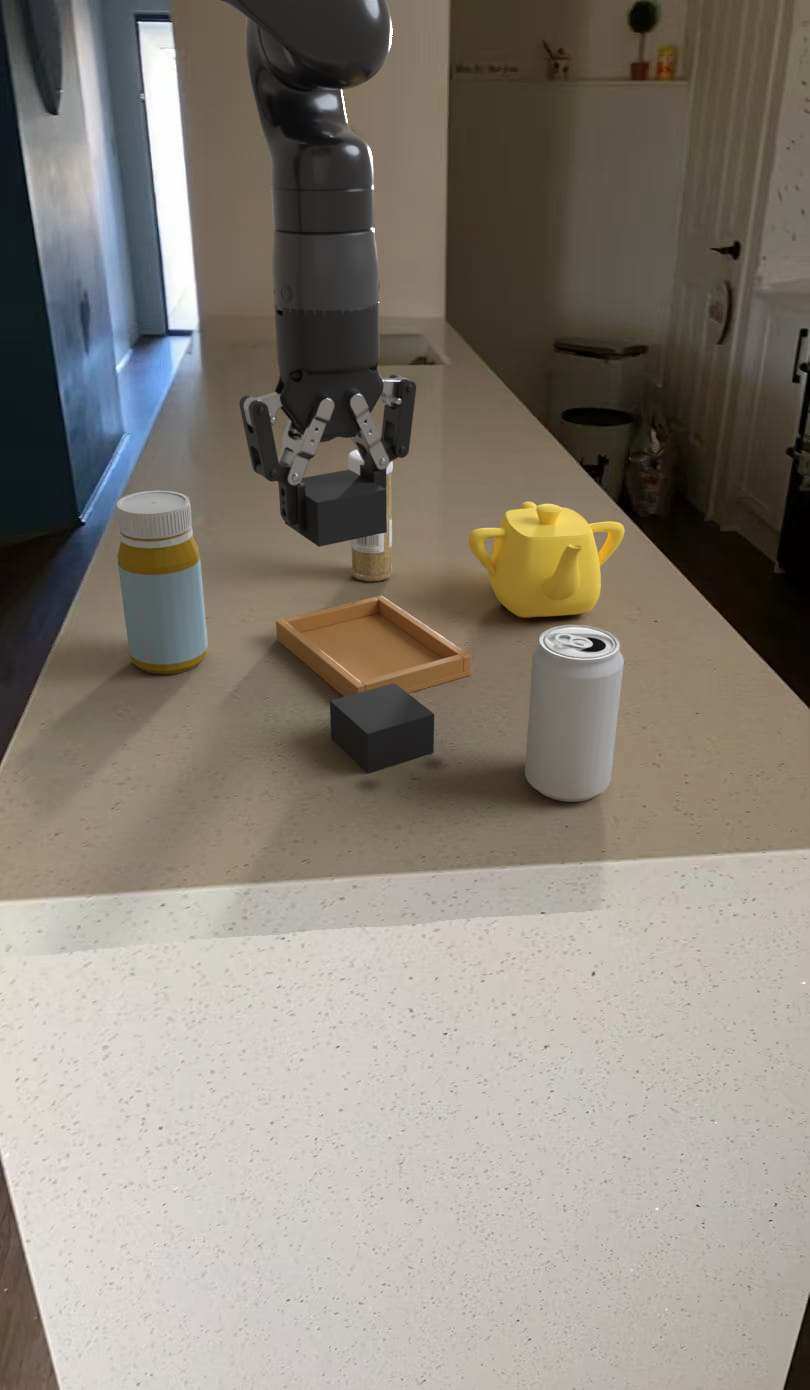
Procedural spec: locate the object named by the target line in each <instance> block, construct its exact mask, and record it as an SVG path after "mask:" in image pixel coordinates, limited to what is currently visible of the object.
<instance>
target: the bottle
mask: <svg viewBox="0 0 810 1390" xmlns="http://www.w3.org/2000/svg"><path fill="white" fill-rule="evenodd" d="M115 510H116V518H117V526H118V529H119V532H118V533H119V540H120V543H119V547H118V551H117V554H116V555H117V566H118V574H119V582H120V589H121V590H120V591H121V597H122V605H123V606H122V607H123V612H124V613H123V614H124V621H125V622H124V623H125V629H126V636H127V646H128V653H129V657H130V661H131V662H132V663H133V664H134V665H135V666H136V667H138V668H139V669H140V670H141V671H144V672H146V673H149V674H154V675H174V674H175V675H176V674H181V673H184V672H187V671H190V670H192V669H195V668H196V667H198V666H199V665H200V664H201V663H202V662H203V661H204V660H205V658H206V657H207V655H208V652H209V648H208V642H209V641H208V631H207V621H206V620H207V619H206V610H205V609H206V608H205V599H204V598H205V597H204V586H203V576H202V563H201V562H202V561H201V556H200V555H201V554H200V550H199V546H198V544H197V543H196V541H195V538H194V536H193V525H192V524H193V521H192V520H193V519H192V508H191V501H190V498H189V496H187V495H186V494H183V493H181V492H177V491H171V490H146V491H140V492H134V493H131V494H128V495H125V496H123V497H121V498H119V500H117V502H116V505H115Z"/></svg>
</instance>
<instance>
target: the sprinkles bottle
mask: <svg viewBox="0 0 810 1390" xmlns="http://www.w3.org/2000/svg"><path fill="white" fill-rule="evenodd" d="M393 461H394V460H393ZM393 461H391V462H390V463H389V465H388V467H387V469H386V488H387V492H386V493H387V500H386V505H387V532H386V533H382V534H377V535H372V536H367V537H363V538H358V539H353V540H350V546H351V569H350V573H351V576H352V577H354V578H355V579H357V580H360V581H363V582H381V581H383V580H384V581H385V580H387V579H388V578H390V577H391V576H392V575H393V571H394V570H393V567H392V562H393V561H392V546H393V521H392V481H391V480H392V472H393V471H394V470H393V468H394V467H393V464H394V462H393ZM362 464H364V461H363V460H362V458H361V456H360V454H359V452H358V450H357V449H354V450H352V451H350V452H349V454H348V455H347V470H351V471H353V472H355V473H357V474H359V475H360V465H362Z"/></svg>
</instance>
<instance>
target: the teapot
mask: <svg viewBox="0 0 810 1390" xmlns="http://www.w3.org/2000/svg"><path fill="white" fill-rule="evenodd" d="M625 531H626V530H625V527H624V525H623V524H622V523H620V522H618V521H600V522H594V523H589V522H588V521H587V520H586V518H585V517H583V516H582V515H581V514H580V513H578V512H577V511H575V510H573V509H571V508H568V507H561V506H560V505H558V504H553V503H541V504H539V505H537V504H536V503H534V502H533V501H524V502H523V503H521V505H520V508H516V509H509V510H507V511H506V512H505V513H504V515H503V517H502V519H501V522H500V524H499V527H481V528H476V529H473V530H472V531H470V533H469V534H468V537H467V540H468V547H469V549H470V550H471V553H472V554H473V555H474V557H475V559H476V560H478V561H479V563H480V564H481V565H482V566H483V567H484V569H486V570H487V571H488V579H489V583H490V586H491V588H492V591H493V593H494V594H495V596H496V598H497V600H498V601H499V602H500V603H501V605H502V606H503V607H504V608H506V610H508V611H509V612H511V613H512V614H514V615H515V616H517V617H519V618H523V619H530V618H537V617H540V618H541V617H558V616H576V615H580V614H587V613H589V612H591V611H592V610H593V609H594V607H595V606H596V604H597V602H598V600H599V598H600V597H601V596H600V595H601V588H602V576H601V567H602V565H603V564H604V563H605V562H606V561H607V560H608V559H609V558H610V557H611V556H612V555H613V554H614V553H615V551H616V550H617V549H618V547H619V546H620V545H621V543H622V541H623V539H624V536H625V533H626V532H625ZM594 533H607V537H606V540H605V542H604V544H603V545H602V547H601V548H600V549H599V551H598V547H597V543H596V540H595V536H594ZM488 539H494V540H493V544H492V548H491V552H490V556H489V554H488V551H487V548H486V546H485V541H486V540H488Z"/></svg>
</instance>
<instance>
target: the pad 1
mask: <svg viewBox="0 0 810 1390" xmlns="http://www.w3.org/2000/svg"><path fill="white" fill-rule="evenodd" d="M301 483H303V484H304V485H305V489H306V496H305V502H306V524H307V527H306V530H302V531H296V530H294V529H293V528H292V527H290V526H289V525H288V523H287V522H286V521H284V524H285V525H287V526H288V527H289V528H291V529H292V530H294V531H295V532H296V533H298V534H299V535H301V536H302V537H304V538H306V539H307V540H308V541H310V542H311V543H313V544H314V545H315V546H316V547H319V548H320V547H324V546H329V545H334V544H338V543H342V542H344V543H345V542H348V541H351V540H353V539H358V538H363V537H367V536H372V535H377V534H382V533H386V532H387V505H386V489H384V488H382V487H381V486H379V485H377V484H375V483H373V482H371V481H369V480H368V479H366V478H364V477H362V476H360V475H359V474H357V473H355V472H353V471H351V470H348V469H345V470H339V471H338V470H337V471H333V472H328V473H323V474H321V473H320V474H317V475H310V476H305V477H303V479H302V481H301Z"/></svg>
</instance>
